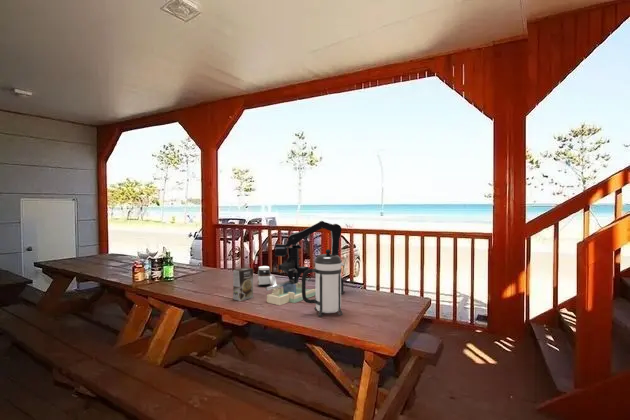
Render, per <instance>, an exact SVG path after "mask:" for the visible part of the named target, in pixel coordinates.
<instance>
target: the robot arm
mask: <svg viewBox="0 0 630 420" xmlns="http://www.w3.org/2000/svg"><path fill="white" fill-rule="evenodd" d="M321 229H325V230H328V231H330V235H331V254H335V255H338V256H339V248H340V247H339V246H340V244H339V243H340V238H341V235H342V226H341V225H339V224H338V223H333V224H332V223H330V222H326V221H324V220H320V221H319V222H317V223H315V224H313V225H311V226H309V227H307V228H305V229H303V230H301V231H298V232H295V233H291V234H290V235H288V239H287V241H286V242H285V244H278V243H276V244H275V250H274V255H275V257H286V255H288V256H287V258H286V261H284V262H282V263H281V264H279V265H278V267H277V268H278V269H277V270H278V271H279V270H280V271H283V272H284V273H286V275H287V277H288V281H289V280H290V279H294V281H295V284H297V281H298V280H300V277H301V275H302V274H303V273H304V272H305V271H306V270H308V269H310V268H309V267H308V266H300V264H299V260H300V259H301V258H300V257H299V249H302V246H301V245H300V243H299V242H300V241H302V240H303V239H304V238H306V237H308V236H309V235H312V234H313V233H316V232H317V231H319V230H321ZM296 244H297V245H296ZM298 282H299V281H298ZM343 292H344V293H346V291H345V290H344V278H343V277H342V276H341V295H342V294H344V293H343Z"/></svg>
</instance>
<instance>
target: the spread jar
mask: <svg viewBox="0 0 630 420" xmlns="http://www.w3.org/2000/svg"><path fill="white" fill-rule="evenodd" d="M276 284H277V279H276V277H275V275H274V274H271V270H270V266H268V265H262V266H261V265H260V266H258V271H257V286H258V287H262V288H263V287H264V288H266V287H269V286H273V285H276Z"/></svg>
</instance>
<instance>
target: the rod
mask: <svg viewBox="0 0 630 420" xmlns="http://www.w3.org/2000/svg"><path fill="white" fill-rule="evenodd" d="M299 281H300V279H298V281H297V283H298V282H299ZM297 283H296V284H297ZM296 284H295V281H294V278H293V279H290V280H289V279H288V281H284V282H281V283H276V285H273V286H272V285H269V286H267V287H265V291H271V290H273V289H278V288H281V287H282V288H283V292H293V293H296Z"/></svg>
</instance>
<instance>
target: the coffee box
mask: <svg viewBox="0 0 630 420" xmlns="http://www.w3.org/2000/svg"><path fill="white" fill-rule="evenodd" d="M232 273H233V274H232V276H233V279H232V280H233V282H232V286H233V287H232V288H233V289H232V291H233V293H232V297H233V300H235V301H238V302H241V301H245V300H248V299H253V298H254V268H251V267H240V268H236V269H233V271H232Z"/></svg>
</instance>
